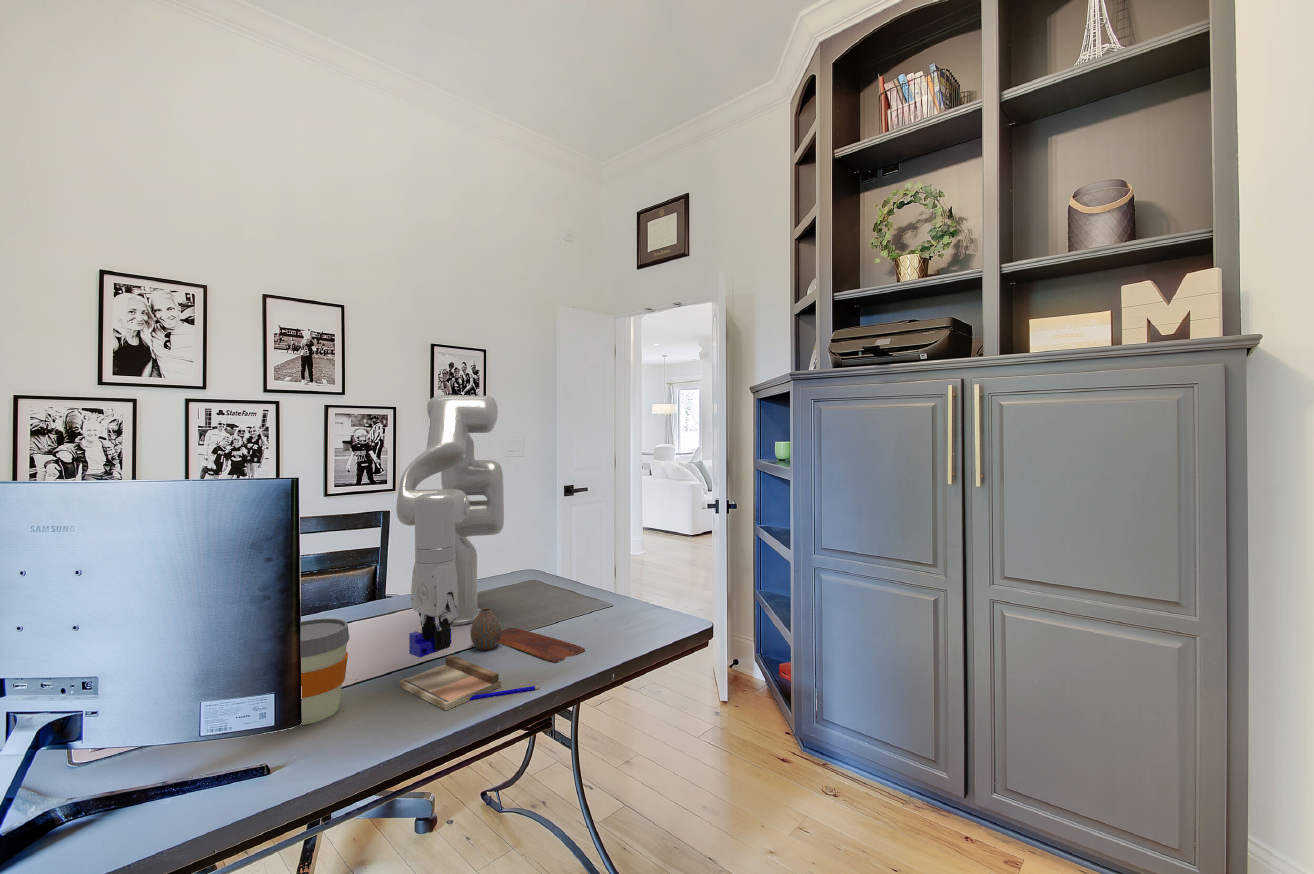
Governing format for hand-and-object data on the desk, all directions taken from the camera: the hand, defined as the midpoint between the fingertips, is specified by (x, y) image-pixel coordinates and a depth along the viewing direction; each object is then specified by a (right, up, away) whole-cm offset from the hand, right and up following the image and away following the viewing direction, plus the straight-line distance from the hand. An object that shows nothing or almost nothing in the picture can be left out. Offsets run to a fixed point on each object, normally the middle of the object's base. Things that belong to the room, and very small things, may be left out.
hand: (436, 645), depth 114 cm
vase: (+4, -7, +19) cm, 21 cm away
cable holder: (0, -1, -1) cm, 1 cm away
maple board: (+3, -7, -2) cm, 8 cm away
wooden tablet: (+15, -8, +21) cm, 27 cm away
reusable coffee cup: (-18, -8, -12) cm, 23 cm away
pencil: (+13, -8, -5) cm, 16 cm away
